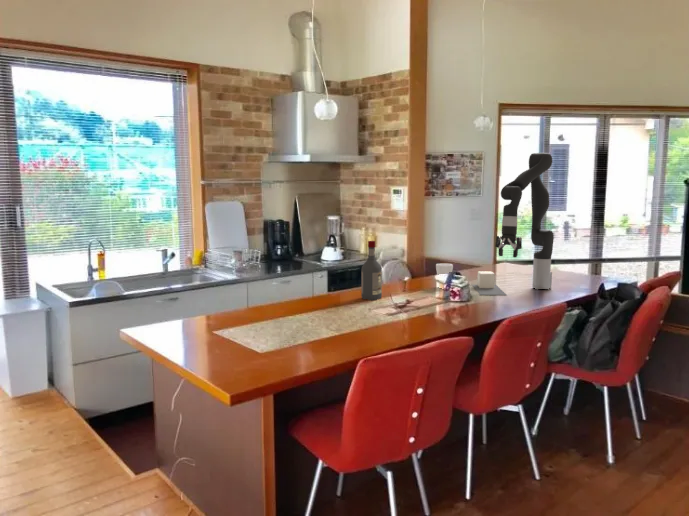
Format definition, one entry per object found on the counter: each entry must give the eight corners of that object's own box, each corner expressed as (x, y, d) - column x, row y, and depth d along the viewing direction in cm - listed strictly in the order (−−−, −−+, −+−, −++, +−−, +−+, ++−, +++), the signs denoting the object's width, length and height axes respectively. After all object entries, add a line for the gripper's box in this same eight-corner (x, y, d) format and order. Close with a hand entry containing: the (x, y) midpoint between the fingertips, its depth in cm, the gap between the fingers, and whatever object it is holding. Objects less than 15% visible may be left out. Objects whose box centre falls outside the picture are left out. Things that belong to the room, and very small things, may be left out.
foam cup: (432, 286, 335) (432, 264, 334) (445, 285, 339) (446, 263, 337) (441, 289, 327) (442, 266, 325) (455, 287, 331) (456, 265, 329)
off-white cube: (477, 285, 336) (477, 271, 334) (491, 285, 335) (491, 271, 334) (479, 288, 328) (480, 273, 326) (494, 288, 327) (494, 273, 326)
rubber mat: (471, 285, 338) (471, 284, 338) (495, 285, 337) (495, 284, 337) (480, 295, 310) (480, 294, 310) (506, 295, 309) (506, 294, 309)
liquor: (359, 299, 303) (359, 241, 298) (367, 295, 311) (367, 239, 306) (375, 300, 298) (376, 242, 294) (383, 297, 306) (383, 240, 302)
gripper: (525, 225, 297) (523, 257, 298) (502, 224, 308) (500, 255, 309) (517, 225, 292) (515, 258, 293) (493, 224, 303) (491, 255, 304)
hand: (507, 256), depth 301 cm, fingers open, 8 cm apart
